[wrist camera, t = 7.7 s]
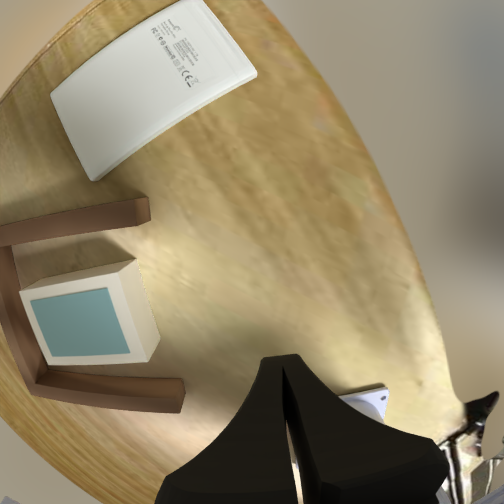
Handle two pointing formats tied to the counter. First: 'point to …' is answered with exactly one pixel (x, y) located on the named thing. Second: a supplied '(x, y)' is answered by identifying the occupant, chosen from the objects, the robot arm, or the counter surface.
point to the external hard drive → (148, 83)
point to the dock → (22, 335)
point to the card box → (93, 316)
